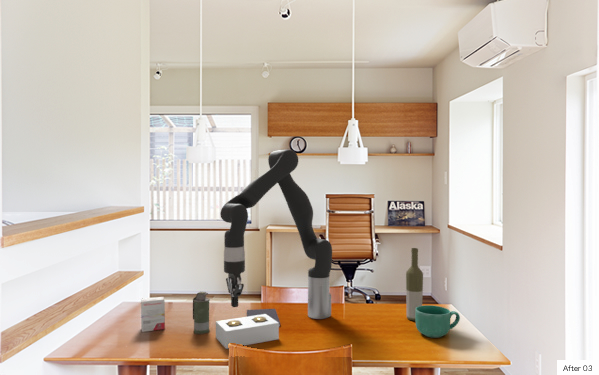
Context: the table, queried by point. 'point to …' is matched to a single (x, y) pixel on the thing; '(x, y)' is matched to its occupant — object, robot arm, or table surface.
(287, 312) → the table surface
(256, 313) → the notebook
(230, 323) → the peg
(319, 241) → the robot arm
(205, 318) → the grenade
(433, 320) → the mug
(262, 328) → the socket block
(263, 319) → the peg
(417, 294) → the bottle
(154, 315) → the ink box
